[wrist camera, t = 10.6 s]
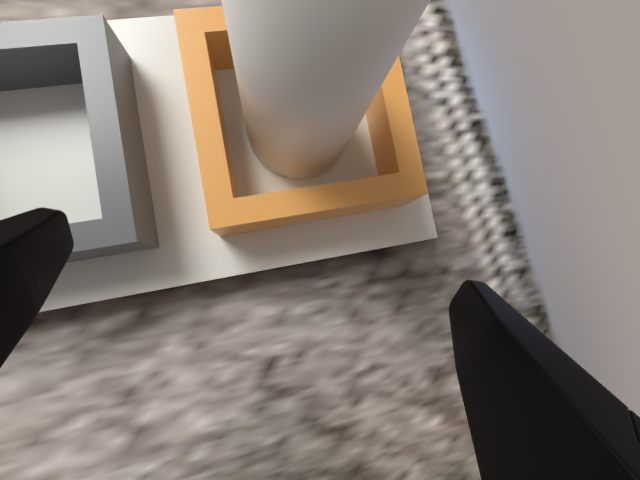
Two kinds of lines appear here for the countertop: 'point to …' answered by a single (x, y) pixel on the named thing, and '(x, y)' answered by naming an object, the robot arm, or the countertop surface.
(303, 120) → the white bottle
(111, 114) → the dock
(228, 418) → the countertop surface
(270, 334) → the countertop surface
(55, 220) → the robot arm
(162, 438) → the countertop surface
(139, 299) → the countertop surface
